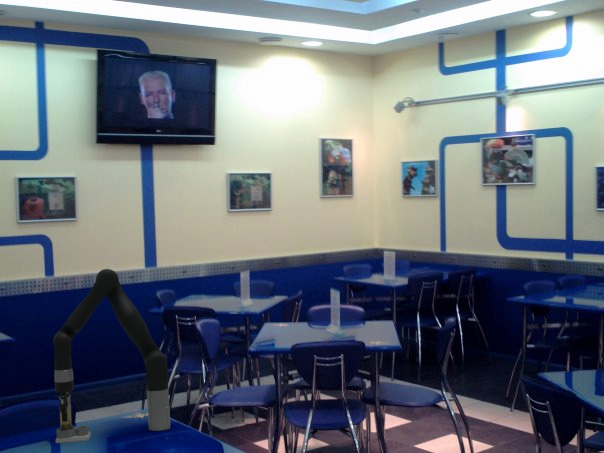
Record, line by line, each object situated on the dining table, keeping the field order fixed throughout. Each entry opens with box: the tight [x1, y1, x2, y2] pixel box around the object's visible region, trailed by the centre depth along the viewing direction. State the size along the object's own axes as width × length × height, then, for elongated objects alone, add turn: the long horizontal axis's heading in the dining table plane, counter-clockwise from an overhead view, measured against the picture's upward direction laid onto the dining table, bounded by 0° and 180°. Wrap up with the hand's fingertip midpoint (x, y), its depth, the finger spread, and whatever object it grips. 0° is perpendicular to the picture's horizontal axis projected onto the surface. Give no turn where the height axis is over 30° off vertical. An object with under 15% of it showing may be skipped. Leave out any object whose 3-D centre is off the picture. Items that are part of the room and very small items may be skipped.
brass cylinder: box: [59, 402, 73, 429], centre depth 326 cm, size 4×4×10 cm
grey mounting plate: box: [55, 425, 92, 444], centre depth 326 cm, size 13×9×4 cm
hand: (65, 419), depth 326 cm, fingers closed on brass cylinder, 4 cm apart
